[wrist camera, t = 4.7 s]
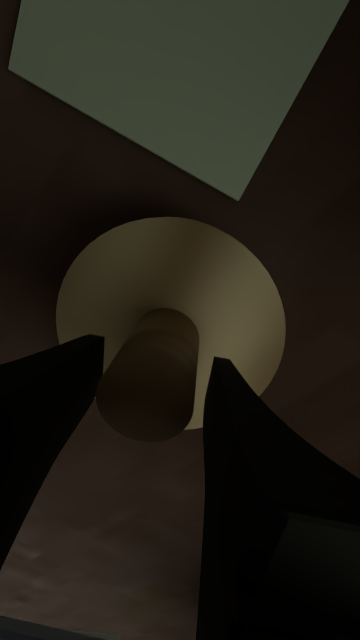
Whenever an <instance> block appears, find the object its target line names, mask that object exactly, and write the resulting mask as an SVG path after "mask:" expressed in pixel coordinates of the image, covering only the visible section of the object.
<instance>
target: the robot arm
mask: <svg viewBox="0 0 360 640" xmlns="http://www.w3.org/2000/svg"><path fill="white" fill-rule="evenodd" d="M104 343H105V337H103V336H98V335H92V334H88V335H84V336H81V337H79V338H76V339H73V340H71V341H68V342H66V343H63V344H60V345H58V346H55V347H53V348H50V349H47V350H45V351H42V352H39V353H36V354H33V355H30V356H27V357H24V358H21V359H18V360H15V361H12V362H8V363H5V364H1V365H0V570H1V568H2V565H3V563H4V561H5V559H6V557H7V555H8V553H9V551H10V548H11V546H12V544H13V542H14V540H15V538H16V536H17V534H18V532H19V530H20V527H21V525H22V523H23V521H24V519H25V517H26V515H27V513H28V511H29V509H30V507H31V505H32V503H33V501H34V499H35V497H36V495H37V493H38V491H39V489H40V487H41V486H42V484H43V482H44V480H45V478H46V476H47V474H48V472H49V470H50V468H51V467H52V465H53V463H54V461H55V459H56V458H57V456H58V454H59V453H60V451H61V450H62V448H63V447H64V445H65V443H66V442H67V440H68V439H69V437H70V436H71V434H72V433H73V431H74V430H75V428H76V427H77V425H78V424H79V422H80V421H81V419H82V418H83V416H84V415H85V413H86V412H87V410H88V409H89V407H90V405H91V404H92V402H93V400H94V398H95V396H96V389H97V385H98V382H99V380H100V379H101V377H102V375H103V365H104ZM203 443H204V465H205V506H204V526H203V543H202V560H201V575H200V590H199V605H198V619H197V632H196V640H360V479H359V478H357V477H356V476H354V475H353V474H351V473H350V472H348V471H347V470H345V469H344V468H342V467H341V466H339V465H338V464H336V463H335V462H333V461H332V460H330V459H329V458H328V457H326V456H325V455H323V454H322V453H321V452H319V451H318V450H317V449H315V448H314V447H313V446H312V445H310V444H309V443H308V442H306V441H305V440H304V439H303V438H301V437H300V436H299V435H298V434H296V433H295V432H294V431H293V430H292V429H291V428H289V427H288V426H287V425H286V424H285V423H284V422H283V421H282V420H281V419H280V418H279V417H278V416H277V415H275V414H274V413H273V412H272V411H271V410H270V409H269V407H268V406H267V405H266V404H265V403H264V402H263V401H262V400H261V399H260V398H259V396H258V395H257V394H256V393H255V392H254V391H253V389H252V388H251V387H250V386H249V384H248V383H247V382H246V381H245V379H244V378H243V377H242V375H241V374H240V372H239V371H238V370H237V368H236V367H235V365H234V364H233V363H232V361H231V360H230V359H226V358H221V357H215V356H214V359H213V363H212V368H211V373H210V377H209V382H208V386H207V391H206V395H205V400H204V412H203ZM0 640H106V639H102V638H97V637H93V636H88V635H84V634H80V633H75V632H71V631H66V630H62V629H58V628H53V627H49V626H44V625H40V624H36V623H31V622H27V621H22V620H18V619H13V618H9V617H5V616H0Z"/></svg>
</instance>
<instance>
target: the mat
mask: <svg viewBox="0 0 360 640" xmlns="http://www.w3.org/2000/svg"><path fill="white" fill-rule="evenodd" d="M348 2H349V0H22V1H21V6H20V11H19V16H18V21H17V26H16V31H15V36H14V41H13V46H12V51H11V56H10V61H9V66H8V69H9V70H10V71H12V72H13V73H15V74H16V75H18V76H19V77H21V78H23V79H25V80H26V81H28V82H30V83H32V84H33V85H35V86H37V87H38V88H40V89H42V90H44V91H45V92H47V93H49V94H51V95H52V96H54V97H56V98H58V99H59V100H61V101H63V102H65V103H66V104H68V105H70V106H72V107H73V108H75V109H77V110H79V111H80V112H82V113H84V114H85V115H87V116H89V117H91V118H92V119H94V120H96V121H98V122H99V123H101V124H103V125H105V126H106V127H108V128H110V129H112V130H113V131H115V132H117V133H119V134H120V135H122V136H124V137H126V138H127V139H129V140H131V141H132V142H134V143H136V144H138V145H139V146H141V147H143V148H145V149H146V150H148V151H150V152H152V153H153V154H155V155H157V156H159V157H160V158H162V159H164V160H166V161H167V162H169V163H171V164H173V165H174V166H176V167H178V168H180V169H181V170H183V171H185V172H186V173H188V174H190V175H192V176H193V177H195V178H197V179H199V180H200V181H202V182H204V183H206V184H207V185H209V186H211V187H213V188H214V189H216V190H218V191H220V192H221V193H223V194H225V195H227V196H228V197H230V198H232V199H233V200H235V201H237V202H238V201H239V199H240V197H241V196H242V194H243V192H244V190H245V188H246V186H247V185H248V183H249V181H250V179H251V177H252V176H253V174H254V172H255V170H256V168H257V167H258V165H259V163H260V161H261V159H262V158H263V156H264V154H265V152H266V150H267V148H268V147H269V145H270V143H271V141H272V139H273V138H274V136H275V134H276V132H277V130H278V129H279V127H280V125H281V123H282V121H283V120H284V118H285V116H286V114H287V112H288V110H289V109H290V107H291V105H292V103H293V101H294V100H295V98H296V96H297V94H298V92H299V91H300V89H301V87H302V85H303V83H304V82H305V80H306V78H307V76H308V74H309V73H310V71H311V69H312V67H313V65H314V63H315V62H316V60H317V58H318V56H319V54H320V53H321V51H322V49H323V47H324V45H325V44H326V42H327V40H328V38H329V36H330V35H331V33H332V31H333V29H334V27H335V25H336V24H337V22H338V20H339V18H340V16H341V15H342V13H343V11H344V9H345V7H346V6H347V4H348Z"/></svg>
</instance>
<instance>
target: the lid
mask: <svg viewBox="0 0 360 640" xmlns="http://www.w3.org/2000/svg"><path fill="white" fill-rule="evenodd" d="M56 327H57V335H58V339H59V343H60V344H63V343H66V342H68V341H71V340H73V339H76V338H79V337H81V336H84V335H88V334H92V335H98V336H103V337H105V343H104V365H103V375H102V377H101V379H100V380H99V382H98V385H97V389H96V396H95V398H94V399H96V402H97V406H98V409H99V411H100V413H101V415H102V417H103V418H104V420H105V421H106V422H107V423H108V424H109V425H110V426H111V427H112V428H113V429H115V430H116V431H117V432H119V433H121V434H122V435H124V436H126V437H129V438H131V439H134V440H139V441H145V442H158V441H163V440H167V439H170V438H172V437H174V436H176V435H178V434H179V433H181V432H182V431H183V430H186V429H196V428H201V427H203V412H204V400H205V395H206V391H207V386H208V382H209V377H210V373H211V368H212V363H213V359H214V356H215V357H221V358H226V359H230V360H231V361H232V363H233V364H234V365H235V367H236V368H237V370H238V371H239V372H240V374H241V375H242V377H243V378H244V379H245V381H246V382H247V383H248V384H249V386H250V387H251V388H252V389H253V391H254V392H255V393H256V394H257V395H258V396H260V395H261V394H262V392H263V391H264V390H265V389H266V387H267V386H268V385H269V383H270V382H271V380H272V378H273V376H274V375H275V373H276V371H277V368H278V366H279V363H280V361H281V358H282V354H283V349H284V345H285V333H286V328H285V315H284V310H283V306H282V301H281V298H280V296H279V293H278V291H277V288H276V286H275V284H274V282H273V280H272V279H271V277H270V275H269V273H268V272H267V270H266V269H265V268H264V266H263V265H262V264H261V262H260V261H259V260H258V259H257V258H256V257H255V256H254V255H253V254H252V253H251V252H250V251H249V250H248V249H247V248H246V247H245V246H244V245H243V244H242V243H240V242H239V241H238V240H236V239H235V238H234V237H232V236H231V235H229V234H228V233H226V232H224V231H222V230H220V229H218V228H216V227H214V226H212V225H209V224H206V223H203V222H201V221H197V220H192V219H187V218H179V217H157V218H145V219H141V220H136V221H132V222H128V223H126V224H123V225H120V226H118V227H115V228H113V229H111V230H109V231H108V232H106V233H104V234H102V235H100V236H99V237H98V238H97V239H95V240H94V241H93V242H91V243H90V244H89V245H88V246H87V247H86V248H85V249H84V250H83V251H82V252H81V253H80V254H79V255H78V256H77V258H76V259H75V260H74V262H73V263H72V265H71V266H70V268H69V269H68V271H67V273H66V275H65V277H64V279H63V282H62V285H61V288H60V291H59V294H58V300H57V306H56Z"/></svg>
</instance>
